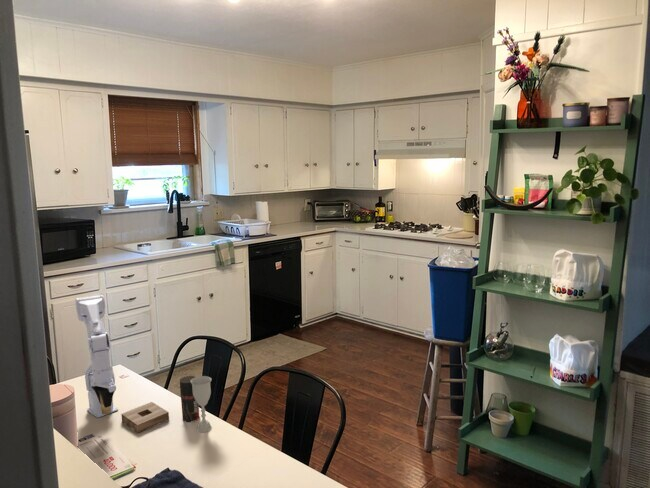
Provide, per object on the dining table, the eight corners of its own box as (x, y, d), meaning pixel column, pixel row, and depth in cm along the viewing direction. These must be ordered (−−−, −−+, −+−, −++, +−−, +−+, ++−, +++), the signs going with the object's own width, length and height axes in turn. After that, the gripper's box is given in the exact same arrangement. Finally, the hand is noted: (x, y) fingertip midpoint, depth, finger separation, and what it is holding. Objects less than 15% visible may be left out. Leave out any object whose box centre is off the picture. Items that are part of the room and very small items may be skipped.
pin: (100, 412, 183) (98, 393, 182) (108, 409, 186) (106, 390, 184) (104, 415, 181) (102, 396, 180) (112, 411, 184) (110, 393, 182)
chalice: (218, 424, 186) (215, 377, 183) (208, 434, 180) (204, 385, 177) (200, 421, 189) (197, 375, 185) (190, 431, 182) (186, 383, 179)
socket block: (122, 421, 190) (121, 413, 190) (152, 409, 199) (151, 401, 198) (138, 432, 182) (137, 425, 182) (169, 419, 191) (168, 411, 190)
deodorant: (195, 422, 188) (192, 383, 186) (179, 421, 190) (176, 382, 187) (202, 414, 194) (199, 376, 191) (187, 413, 195) (184, 375, 193)
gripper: (81, 366, 183) (85, 402, 185) (99, 377, 173) (103, 416, 175) (101, 360, 188) (104, 395, 190) (120, 371, 178) (123, 408, 180)
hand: (105, 404), depth 183 cm, fingers closed on pin, 3 cm apart
